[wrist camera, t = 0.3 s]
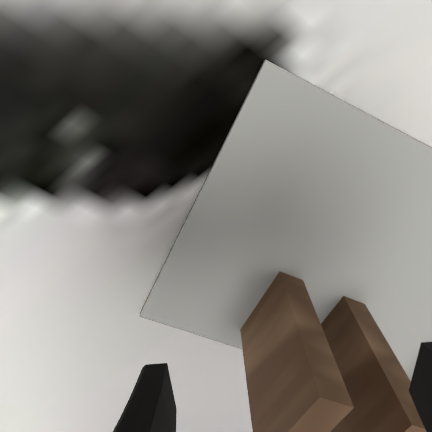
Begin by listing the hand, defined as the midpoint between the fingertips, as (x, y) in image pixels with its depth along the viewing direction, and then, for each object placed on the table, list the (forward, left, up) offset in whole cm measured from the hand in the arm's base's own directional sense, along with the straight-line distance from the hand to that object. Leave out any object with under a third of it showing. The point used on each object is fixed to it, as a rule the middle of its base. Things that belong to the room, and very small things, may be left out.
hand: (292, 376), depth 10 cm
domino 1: (-6, 0, -10) cm, 12 cm away
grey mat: (-8, -10, -10) cm, 16 cm away
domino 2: (-9, -4, -10) cm, 14 cm away
